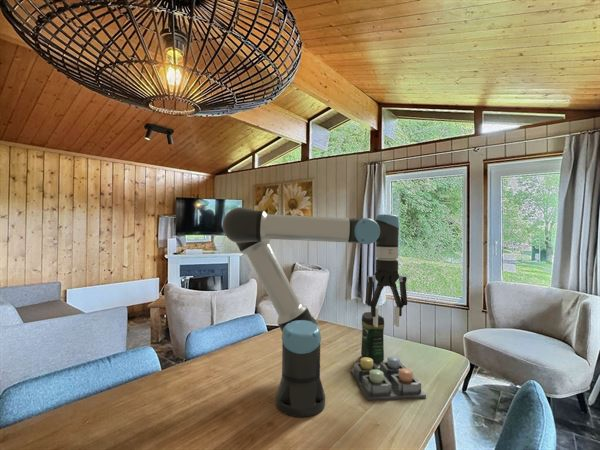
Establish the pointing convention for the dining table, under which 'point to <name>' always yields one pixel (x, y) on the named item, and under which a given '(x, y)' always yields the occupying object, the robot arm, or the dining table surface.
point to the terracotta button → (405, 375)
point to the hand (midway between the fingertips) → (386, 325)
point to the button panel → (386, 384)
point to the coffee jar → (372, 338)
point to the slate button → (393, 362)
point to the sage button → (376, 376)
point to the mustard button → (366, 363)
